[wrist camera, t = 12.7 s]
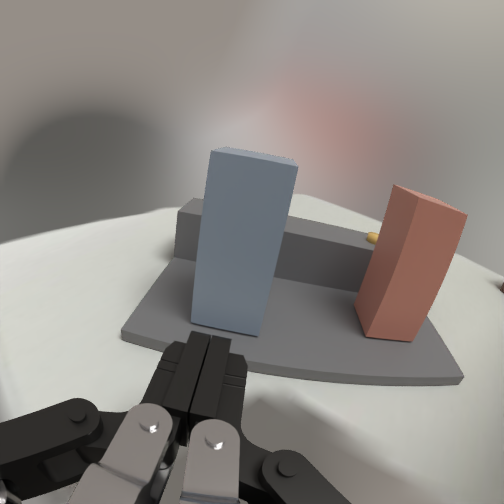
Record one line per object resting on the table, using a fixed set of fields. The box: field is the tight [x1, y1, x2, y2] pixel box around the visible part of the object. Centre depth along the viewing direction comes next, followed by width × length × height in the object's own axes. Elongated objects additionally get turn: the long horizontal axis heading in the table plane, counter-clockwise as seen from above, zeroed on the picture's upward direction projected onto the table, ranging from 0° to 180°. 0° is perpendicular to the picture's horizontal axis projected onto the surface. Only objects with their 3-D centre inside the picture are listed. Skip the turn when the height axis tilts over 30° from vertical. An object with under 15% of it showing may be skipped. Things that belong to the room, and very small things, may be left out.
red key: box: [354, 185, 467, 342], centre depth 22 cm, size 5×5×12 cm
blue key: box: [191, 147, 298, 336], centre depth 20 cm, size 5×5×12 cm
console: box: [121, 198, 464, 386], centre depth 26 cm, size 28×19×7 cm
